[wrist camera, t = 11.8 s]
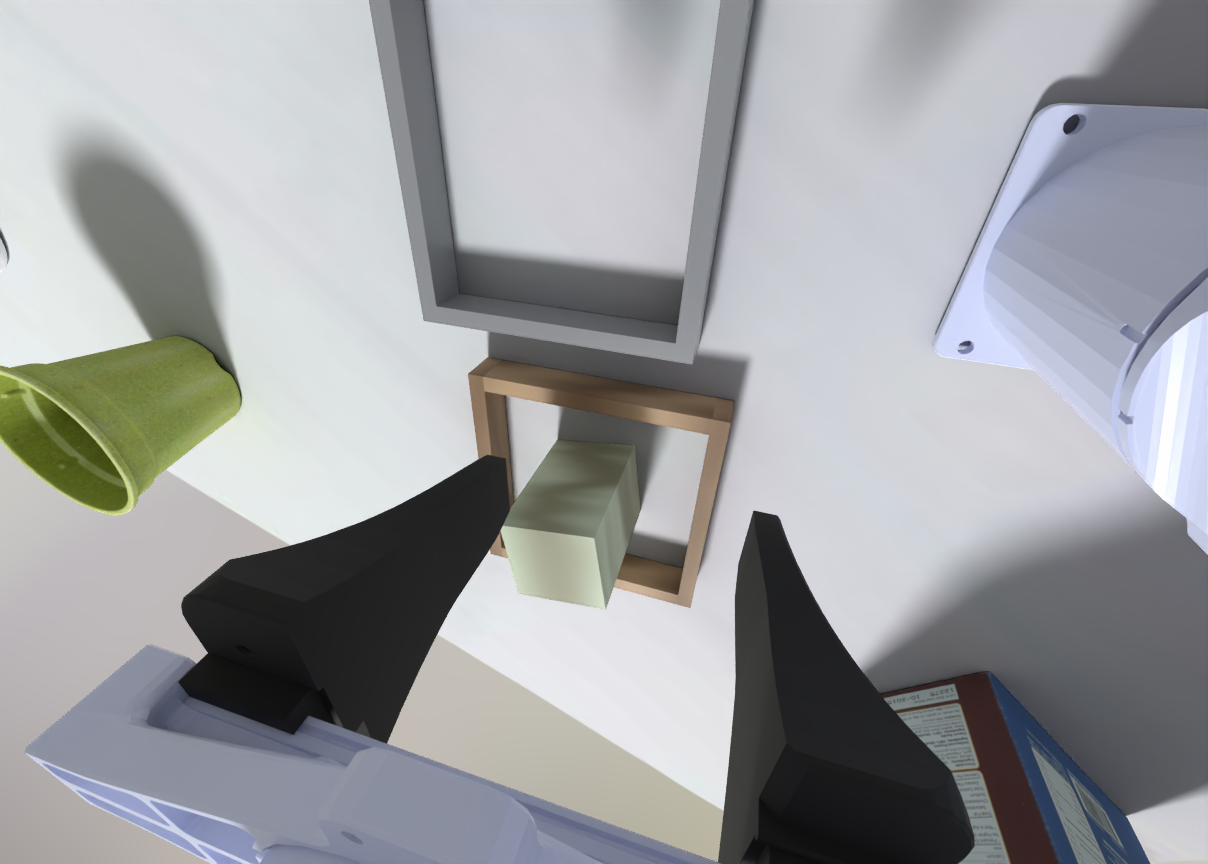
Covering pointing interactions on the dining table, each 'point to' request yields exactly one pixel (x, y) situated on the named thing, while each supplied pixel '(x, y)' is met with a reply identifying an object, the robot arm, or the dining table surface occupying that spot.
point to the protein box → (1015, 778)
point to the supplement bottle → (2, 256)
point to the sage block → (574, 523)
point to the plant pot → (114, 417)
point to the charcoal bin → (428, 209)
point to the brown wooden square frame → (618, 401)
